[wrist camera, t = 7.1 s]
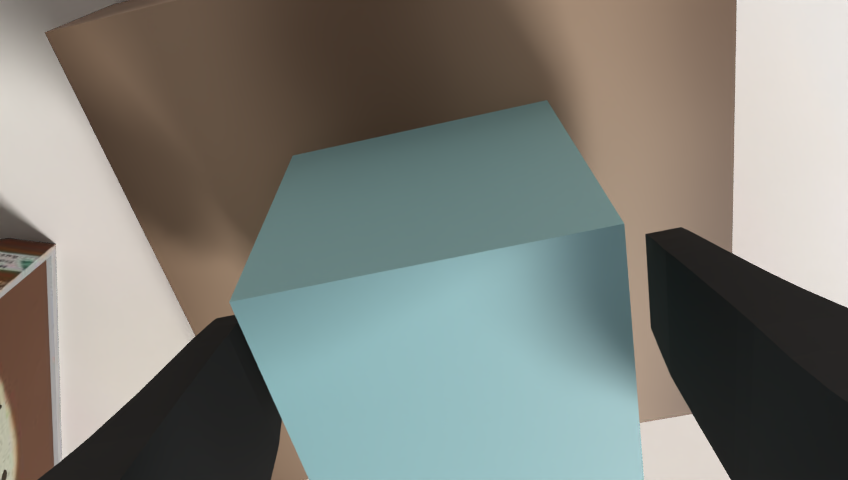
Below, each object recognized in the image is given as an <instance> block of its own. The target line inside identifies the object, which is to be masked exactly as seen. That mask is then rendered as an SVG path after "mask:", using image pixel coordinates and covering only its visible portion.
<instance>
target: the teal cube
mask: <svg viewBox="0 0 848 480" xmlns="http://www.w3.org/2000/svg"><path fill="white" fill-rule="evenodd" d="M229 303H230V305H231V307H232V310H233V312H234V314H235V316H236V318H237V321H238V323H239V325H240V327H241V330H242V332H243V334H244V336H245V338H246V341H247V343H248V345H249V347H250V350H251V352H252V354H253V356H254V358H255V361H256V363H257V365H258V367H259V370H260V372H261V374H262V376H263V378H264V381H265V383H266V385H267V387H268V390H269V392H270V394H271V396H272V398H273V401H274V403H275V405H276V407H277V409H278V412H279V414H280V416H281V418H282V421H283V423H284V425H285V427H286V429H287V432H288V434H289V436H290V438H291V441H292V443H293V445H294V447H295V449H296V452H297V454H298V456H299V458H300V461H301V463H302V465H303V467H304V469H305V472H306V474H307V476H308V478H309V480H644V475H643V461H642V448H641V435H640V422H639V409H638V396H637V383H636V370H635V357H634V343H633V330H632V317H631V304H630V291H629V278H628V265H627V252H626V239H625V225H624V222H623V221H622V219H621V218H620V216H619V214H618V213H617V211H616V210H615V208H614V206H613V205H612V203H611V202H610V200H609V198H608V197H607V195H606V194H605V192H604V190H603V189H602V187H601V186H600V184H599V182H598V181H597V179H596V178H595V176H594V174H593V173H592V171H591V170H590V168H589V166H588V165H587V163H586V162H585V160H584V158H583V157H582V155H581V154H580V152H579V150H578V149H577V147H576V146H575V144H574V142H573V141H572V139H571V138H570V136H569V134H568V133H567V131H566V130H565V128H564V126H563V125H562V123H561V122H560V120H559V118H558V117H557V115H556V114H555V112H554V110H553V109H552V107H551V106H550V104H549V102H548V101H547V100H545V101H541V102H536V103H532V104H527V105H522V106H518V107H513V108H509V109H504V110H499V111H495V112H490V113H486V114H481V115H477V116H472V117H467V118H463V119H458V120H454V121H449V122H444V123H440V124H435V125H431V126H426V127H422V128H417V129H412V130H408V131H403V132H399V133H394V134H389V135H385V136H380V137H376V138H371V139H367V140H362V141H357V142H353V143H348V144H344V145H339V146H334V147H330V148H325V149H321V150H316V151H312V152H307V153H302V154H298V155H293V156H292V158H291V161H290V163H289V165H288V168H287V170H286V172H285V175H284V177H283V179H282V181H281V184H280V186H279V188H278V191H277V193H276V195H275V198H274V200H273V202H272V204H271V207H270V209H269V211H268V214H267V216H266V218H265V221H264V223H263V225H262V228H261V230H260V232H259V234H258V237H257V239H256V241H255V244H254V246H253V248H252V251H251V253H250V255H249V257H248V260H247V262H246V264H245V267H244V269H243V271H242V274H241V276H240V278H239V281H238V283H237V285H236V287H235V290H234V292H233V294H232V297H231V299H230V301H229Z"/></svg>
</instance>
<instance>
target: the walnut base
mask: <svg viewBox="0 0 848 480" xmlns="http://www.w3.org/2000/svg"><path fill="white" fill-rule="evenodd" d="M45 34H46V36H47V38H48V40H49V42H50V44H51V46H52V48H53V50H54V52H55V54H56V56H57V58H58V60H59V62H60V64H61V66H62V68H63V70H64V72H65V74H66V76H67V78H68V80H69V82H70V84H71V86H72V88H73V90H74V92H75V94H76V96H77V98H78V100H79V102H80V104H81V106H82V108H83V110H84V112H85V114H86V116H87V118H88V120H89V122H90V124H91V127H92V129H93V131H94V133H95V135H96V137H97V139H98V141H99V143H100V145H101V147H102V149H103V151H104V153H105V155H106V157H107V159H108V161H109V163H110V165H111V167H112V169H113V171H114V173H115V175H116V177H117V179H118V181H119V183H120V185H121V187H122V189H123V191H124V193H125V195H126V197H127V199H128V201H129V203H130V205H131V207H132V209H133V211H134V213H135V215H136V217H137V219H138V221H139V223H140V225H141V227H142V229H143V231H144V233H145V235H146V237H147V239H148V241H149V243H150V245H151V247H152V249H153V251H154V253H155V255H156V257H157V259H158V261H159V263H160V265H161V267H162V269H163V271H164V273H165V275H166V277H167V279H168V281H169V283H170V285H171V287H172V289H173V291H174V293H175V295H176V297H177V299H178V301H179V303H180V305H181V307H182V309H183V311H184V313H185V316H186V318H187V320H188V322H189V324H190V326H191V328H192V330H193V332H194V334H195V336H197V335H198V334H199V333H200V332H201V331H202V330H203V329H204V328H205V327H206V326H207V325H209V324H210V323H211V322H212V321H214V320H215V319H216V318H220V317H225V316H231V315H235V314H234V312H233V310H232V307H231V305H230V303H229V301H230V299H231V297H232V294H233V292H234V290H235V287H236V285H237V283H238V281H239V278H240V276H241V274H242V271H243V269H244V267H245V264H246V262H247V260H248V257H249V255H250V253H251V251H252V248H253V246H254V244H255V241H256V239H257V237H258V234H259V232H260V230H261V228H262V225H263V223H264V221H265V218H266V216H267V214H268V211H269V209H270V207H271V204H272V202H273V200H274V198H275V195H276V193H277V191H278V188H279V186H280V184H281V181H282V179H283V177H284V175H285V172H286V170H287V168H288V165H289V163H290V161H291V158H292V156H293V155H298V154H302V153H307V152H312V151H316V150H321V149H325V148H330V147H334V146H339V145H344V144H348V143H353V142H357V141H362V140H367V139H371V138H376V137H380V136H385V135H389V134H394V133H399V132H403V131H408V130H412V129H417V128H422V127H426V126H431V125H435V124H440V123H444V122H449V121H454V120H458V119H463V118H467V117H472V116H477V115H481V114H486V113H490V112H495V111H499V110H504V109H509V108H513V107H518V106H522V105H527V104H532V103H536V102H541V101H545V100H547V101H548V102H549V104H550V106H551V107H552V109H553V110H554V112H555V114H556V115H557V117H558V118H559V120H560V122H561V123H562V125H563V126H564V128H565V130H566V131H567V133H568V134H569V136H570V138H571V139H572V141H573V142H574V144H575V146H576V147H577V149H578V150H579V152H580V154H581V155H582V157H583V158H584V160H585V162H586V163H587V165H588V166H589V168H590V170H591V171H592V173H593V174H594V176H595V178H596V179H597V181H598V182H599V184H600V186H601V187H602V189H603V190H604V192H605V194H606V195H607V197H608V198H609V200H610V202H611V203H612V205H613V206H614V208H615V210H616V211H617V213H618V214H619V216H620V218H621V219H622V221H623V222H624V225H625V239H626V252H627V265H628V278H629V291H630V304H631V317H632V330H633V343H634V357H635V370H636V383H637V396H638V409H639V422H640V423H642V422H647V421H653V420H659V419H665V418H671V417H677V416H683V415H689V414H692V412H691V411H690V409H689V407H688V405H687V404H686V402H685V400H684V398H683V397H682V395H681V393H680V391H679V390H678V388H677V386H676V384H675V383H674V381H673V379H672V377H671V375H670V373H669V371H668V368H667V366H666V364H665V361H664V359H663V357H662V354H661V352H660V350H659V347H658V345H657V342H656V340H655V337H654V335H653V332H652V330H651V324H650V307H649V290H648V272H647V255H646V238H645V234H648V233H653V232H658V231H663V230H668V229H673V228H679V227H682V228H684V229H687V230H689V231H691V232H693V233H695V234H697V235H699V236H701V237H702V238H704V239H706V240H708V241H710V242H712V243H714V244H715V245H717V246H719V247H721V248H723V249H725V250H727V251H729V252H730V253H732V224H733V168H734V111H735V55H736V0H129V1H125V2H121V3H117V4H113V5H111V6H108V7H106V8H104V9H101V10H99V11H96V12H94V13H91V14H89V15H86V16H84V17H81V18H79V19H77V20H74V21H72V22H69V23H67V24H64V25H62V26H59V27H57V28H55V29H52V30H50V31H47V32H45ZM306 479H309V478H308V476H307V474H306V472H305V469H304V467H303V465H302V463H301V461H300V458H299V456H298V454H297V452H296V449H295V447H294V445H293V443H292V441H291V438H290V436H289V434H288V432H287V429H286V427H285V425H284V423H283V421H282V423H281V432H280V441H279V447H278V452H277V456H276V460H275V465H274V469H273V473H272V477H271V480H306Z"/></svg>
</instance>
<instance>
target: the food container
mask: <svg viewBox="0 0 848 480" xmlns="http://www.w3.org/2000/svg"><path fill="white" fill-rule="evenodd" d="M61 461H62V444H61V410H60V376H59V342H58V308H57V274H56V244H51V243H43V242H35V241H27V240H19V239H11V238H8V239H0V480H38V479H39V478H40V477H41V476H43V475H44V474H45V473H46V472H48V471H49V470H50V469H52V468H53V467H54V466H55V465H57V464H58V463H59V462H61Z"/></svg>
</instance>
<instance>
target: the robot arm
mask: <svg viewBox="0 0 848 480" xmlns="http://www.w3.org/2000/svg"><path fill="white" fill-rule="evenodd" d="M645 238H646V255H647V272H648V290H649V307H650V324H651V330H652V332H653V335H654V337H655V340H656V342H657V345H658V347H659V350H660V352H661V354H662V357H663V359H664V361H665V364H666V366H667V368H668V371H669V373H670V375H671V377H672V379H673V381H674V383H675V384H676V386H677V388H678V390H679V391H680V393H681V395H682V397H683V398H684V400H685V402H686V404H687V405H688V407H689V409H690V411H691V412H692V414H693V416H694V417H695V419H696V421H697V423H698V424H699V426H700V428H701V429H702V431H703V433H704V434H705V436H706V438H707V440H708V441H709V443H710V445H711V446H712V448H713V450H714V451H715V453H716V455H717V457H718V458H719V460H720V462H721V463H722V465H723V467H724V469H725V470H726V472H727V474H728V475H729V477H730V479H731V480H848V308H847V307H844V306H842V305H839V304H837V303H835V302H832V301H830V300H828V299H826V298H823V297H821V296H819V295H816V294H814V293H812V292H809V291H807V290H805V289H803V288H800V287H798V286H796V285H794V284H792V283H790V282H788V281H786V280H783V279H781V278H779V277H777V276H775V275H773V274H771V273H769V272H767V271H765V270H763V269H761V268H759V267H757V266H755V265H753V264H751V263H749V262H748V261H746V260H744V259H742V258H740V257H738V256H736V255H734V254H732V253H730V252H729V251H727V250H725V249H723V248H721V247H719V246H717V245H715V244H714V243H712V242H710V241H708V240H706V239H704V238H702V237H701V236H699V235H697V234H695V233H693V232H691V231H689V230H687V229H684V228H682V227H679V228H673V229H668V230H663V231H658V232H653V233H648V234H645ZM281 423H282V418H281V416H280V414H279V412H278V409H277V407H276V405H275V403H274V401H273V398H272V396H271V394H270V392H269V390H268V387H267V385H266V383H265V381H264V378H263V376H262V374H261V372H260V370H259V367H258V365H257V363H256V361H255V358H254V356H253V354H252V352H251V350H250V347H249V345H248V343H247V341H246V338H245V336H244V334H243V332H242V330H241V327H240V325H239V323H238V321H237V318H236V316H235V315H231V316H225V317H220V318H216V319H215V320H214V321H212V322H211V323H210V324H209V325H207V326H206V327H205V328H204V329H203V330H202V331H201V332H200V333H199V334H198V335H197V336H196V337H194V338H193V339H192V340H191V341H190V342H189V343H188V344H187V345H186V346H185V347H184V348H183V349H182V350H181V351H180V352H179V353H178V354H177V355H176V356H175V357H174V358H173V359H172V360H171V361H170V362H169V363H168V364H167V365H166V366H165V367H164V368H163V369H162V370H161V371H160V372H159V373H158V374H157V375H156V376H155V377H154V378H153V379H152V380H151V381H150V382H149V383H148V384H147V385H146V386H145V387H144V388H143V389H142V390H141V391H140V392H139V393H137V394H136V395H135V396H134V397H133V398H132V399H131V400H130V401H129V402H128V403H127V404H126V405H124V406H123V407H122V408H121V409H120V410H119V411H118V412H117V413H116V414H115V415H114V416H112V417H111V418H110V419H109V420H108V421H107V422H106V423H105V424H104V425H103V426H102V427H100V428H99V429H98V430H97V431H96V432H95V433H94V434H93V435H92V436H91V437H89V438H88V439H87V440H86V441H85V442H84V443H82V444H81V445H80V446H79V447H78V448H76V449H75V450H74V451H73V452H72V453H70V454H69V455H68V456H67V457H66V458H64V459H63V460H62V461H61V462H59V463H58V464H57V465H55V466H54V467H53V468H52V469H50V470H49V471H48V472H46V473H45V474H44V475H43V476H41V477H40V478H39V479H38V480H271V477H272V473H273V469H274V465H275V460H276V456H277V452H278V447H279V441H280V432H281Z"/></svg>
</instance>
